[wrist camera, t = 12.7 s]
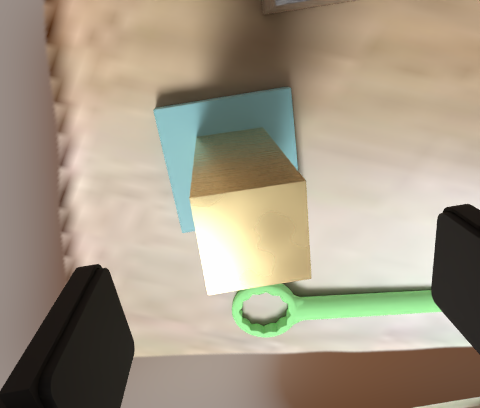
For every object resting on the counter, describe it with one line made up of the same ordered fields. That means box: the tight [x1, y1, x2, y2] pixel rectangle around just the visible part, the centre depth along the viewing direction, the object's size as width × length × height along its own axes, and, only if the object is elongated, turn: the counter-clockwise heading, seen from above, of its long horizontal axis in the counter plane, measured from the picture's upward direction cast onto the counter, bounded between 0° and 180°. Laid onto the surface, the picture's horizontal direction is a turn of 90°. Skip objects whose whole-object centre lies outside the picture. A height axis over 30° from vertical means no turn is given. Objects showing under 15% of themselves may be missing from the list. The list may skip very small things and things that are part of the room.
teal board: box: [153, 87, 298, 233], centre depth 23 cm, size 8×8×1 cm
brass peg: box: [189, 127, 311, 295], centre depth 18 cm, size 4×4×10 cm
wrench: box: [232, 284, 442, 337], centre depth 28 cm, size 25×2×5 cm
